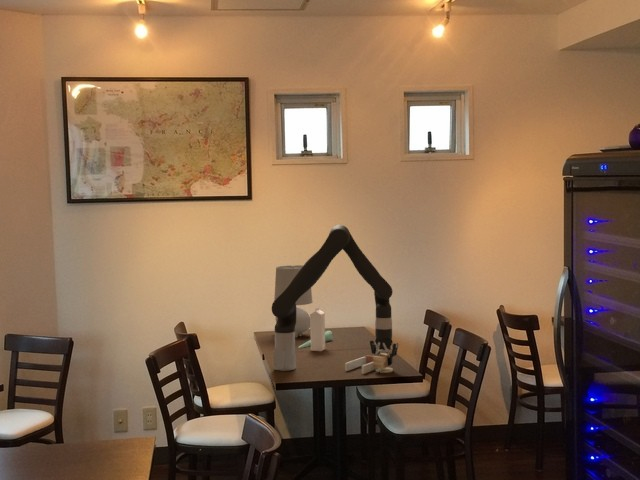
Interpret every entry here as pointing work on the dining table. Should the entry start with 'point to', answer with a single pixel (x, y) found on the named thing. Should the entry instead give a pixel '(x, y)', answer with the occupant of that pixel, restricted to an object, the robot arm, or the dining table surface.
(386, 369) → the coaster
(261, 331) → the dining table surface
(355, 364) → the channel
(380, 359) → the block
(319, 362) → the dining table surface
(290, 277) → the table lamp
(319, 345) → the milk
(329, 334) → the long green cone
